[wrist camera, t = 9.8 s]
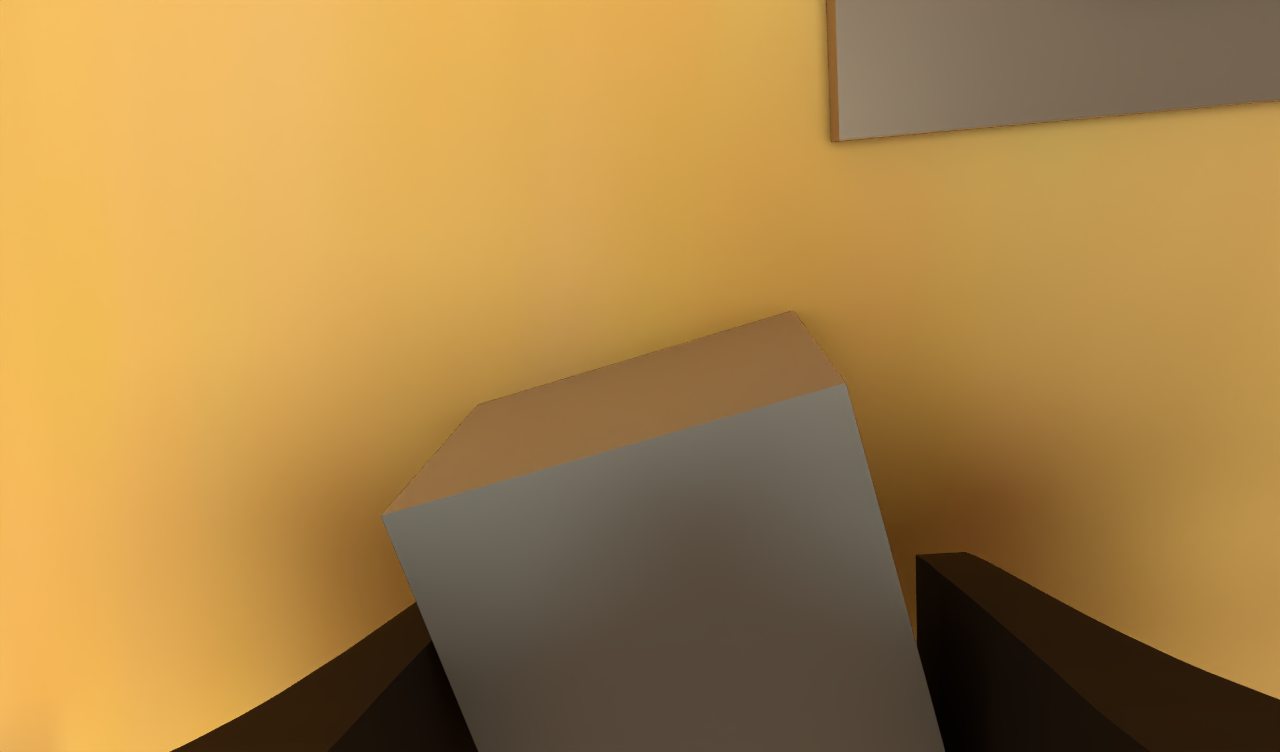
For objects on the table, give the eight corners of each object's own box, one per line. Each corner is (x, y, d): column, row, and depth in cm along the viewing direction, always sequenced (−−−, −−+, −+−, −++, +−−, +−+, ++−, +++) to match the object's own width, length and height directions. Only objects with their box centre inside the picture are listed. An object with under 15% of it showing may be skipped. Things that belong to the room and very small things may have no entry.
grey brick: (790, 308, 11) (845, 382, 7) (912, 742, 13) (1010, 993, 9) (481, 401, 12) (380, 515, 8) (632, 806, 13) (608, 1069, 9)
